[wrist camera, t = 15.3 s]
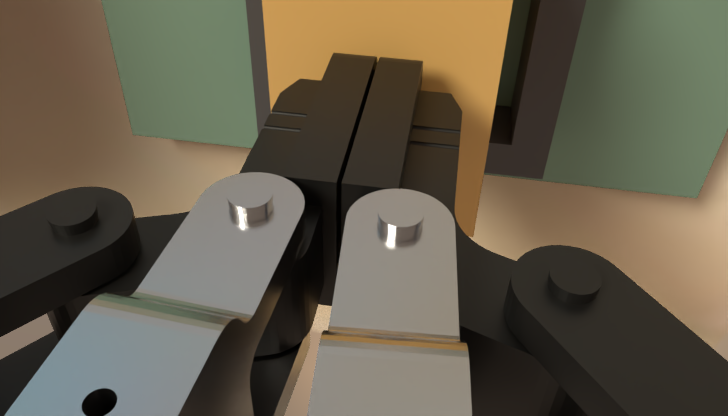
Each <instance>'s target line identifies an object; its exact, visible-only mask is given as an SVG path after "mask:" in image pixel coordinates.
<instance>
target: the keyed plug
mask: <svg viewBox="0 0 728 416" xmlns="http://www.w3.org/2000/svg"><path fill="white" fill-rule="evenodd" d="M512 4H513V0H262V7H263V19H264V32H265V44H266V57H267V70H268V82H269V95H270V107H271V110H272V108H273V106H274V104H275V102H276V100H277V98H278V96H279V94H280V92H282V91H283V90H285V89H286V88H288V87H289V86H290V85H292V84H293V83H295V82H296V81H297V80H299V79H310V80H320V81H321V80H322V78H323V75H324V73H325V71H326V68H327V66H328V64H329V61H330V59H331V57H332V54H333V53H344V54H354V55H365V56H375V57H377V59H378V60H379V58H380V57H387V58H398V59H408V60H418V61H423V74H422V85H421V91H431V92H441V93H451V94H452V96H453V97H454V99H455V101H456V102H457V104H458V105H459V107H460V108H461V110H462V123H461V133H460V134H461V135H460V147H459V160H458V172H457V184H456V197H455V216H456V220H457V222H458V224H459V226H460V228H461V229H462V230H463V232H464V233H465V234H466V235H467V236H470V237H473V235H474V229H475V223H476V217H477V211H478V205H479V199H480V193H481V187H482V181H483V175H484V169H485V164H486V158H487V152H488V146H489V140H490V134H491V128H492V122H493V116H494V110H495V104H496V98H497V93H498V87H499V81H500V75H501V69H502V63H503V57H504V51H505V45H506V39H507V33H508V27H509V21H510V16H511V10H512Z"/></svg>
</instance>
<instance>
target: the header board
mask: <svg viewBox="0 0 728 416" xmlns="http://www.w3.org/2000/svg"><path fill="white" fill-rule="evenodd" d="M101 1H102V5H103V10H104V14H105V18H106V22H107V27H108V31H109V35H110V39H111V44H112V48H113V52H114V56H115V61H116V65H117V69H118V73H119V78H120V82H121V86H122V90H123V95H124V99H125V103H126V107H127V112H128V116H129V120H130V124H131V129H132V133H133V135H139V136H147V137H156V138H165V139H174V140H183V141H192V142H201V143H210V144H219V145H227V146H236V147H245V148H253V146H254V144H255V142H256V140H257V138H258V136H259V134H260V132H261V130H262V129H264V124H265V122H266V120H267V118H268V116H269V114H271V107H270V95H269V82H268V70H267V57H266V44H265V32H264V19H263V7H262V0H101ZM727 129H728V0H513V4H512V10H511V16H510V21H509V27H508V33H507V39H506V45H505V51H504V57H503V63H502V69H501V75H500V81H499V87H498V93H497V98H496V104H495V110H494V116H493V122H492V128H491V134H490V140H489V146H488V152H487V158H486V164H485V169H484V174H485V175H494V176H503V177H512V178H521V179H530V180H538V181H547V182H556V183H565V184H574V185H583V186H592V187H601V188H610V189H618V190H627V191H636V192H645V193H654V194H663V195H672V196H681V197H690V198H697V197H698V195H699V192H700V190H701V188H702V186H703V183H704V181H705V179H706V177H707V174H708V172H709V170H710V168H711V165H712V163H713V161H714V159H715V156H716V154H717V152H718V150H719V147H720V145H721V143H722V140H723V138H724V136H725V134H726V131H727Z"/></svg>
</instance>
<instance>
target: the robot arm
mask: <svg viewBox="0 0 728 416" xmlns="http://www.w3.org/2000/svg"><path fill="white" fill-rule="evenodd" d="M422 74H423V61H418V60H408V59H398V58H387V57H380V58H379V60H378V59H377V57H375V56H365V55H354V54H344V53H333V54H332V57H331V59H330V61H329V64H328V66H327V68H326V71H325V73H324V75H323V78H322V80H321V81H320V80H310V79H299V80H297V81H296V82H295V83H293V84H292V85H290V86H289V87H288V88H286V89H285V90H283V91H282V92H280V94H279V96H278V98H277V100H276V102H275V104H274V106H273V108H272V110H271V114H269V116H268V118H267V120H266V122H265V124H264V129H262V130H261V132H260V134H259V136H258V138H257V140H256V142H255V144H254V146H253V148H252V150H251V152H250V154H249V155H248V157H247V159H246V161H245V163H244V165H243V167H242V169H241V171H240V173H239V174H236V175H232V176H229V177H226V178H224V179H222V180H219V181H217V182H216V183H214V184H213V185H211V186H210V187H209V188H207V189H206V190H205V191H204V193H203V194H202V195H201V196H200V198H199V199H198V201H197V202H196V204H195V205H194V206H193V208H192V209H191V211H189V212H185V213H179V214H171V215H161V216H152V217H142V218H135V216H134V212H133V208H132V206H131V204H130V202H129V201H128V199H127V198H126V197H124V196H123V195H122V194H120V193H118V192H116V191H114V190H110V189H107V188H101V187H79V188H73V189H68V190H65V191H61V192H58V193H55V194H52V195H50V196H48V197H45V198H43V199H40V200H38V201H36V202H33V203H31V204H28V205H26V206H24V207H21V208H19V209H16V210H14V211H12V212H9V213H7V214H4V215H2V216H0V337H1V336H3V335H5V334H7V333H9V332H11V331H13V330H15V329H17V328H19V327H21V326H23V325H24V324H27V323H28V322H30V321H32V320H34V319H36V318H38V317H40V316H42V315H44V314H46V313H47V315H48V317H49V320H50V322H51V324H52V327H53V329H54V331H53V332H52V333H50V334H48V335H46V336H44V337H42V338H40V339H39V340H37V341H35V342H33V343H31V344H29V345H27V346H26V347H24V348H21V349H20V350H18V351H16V352H14V353H12V354H10V355H8V356H6V357H5V358H3V359H1V360H0V416H284V414H285V411H286V409H287V406H288V403H289V400H290V398H291V395H292V393H293V390H294V387H295V385H296V382H297V379H298V377H299V374H300V371H301V369H302V366H303V363H304V361H305V358H306V355H307V353H308V350H309V346H310V329H311V327H312V324H313V321H314V317H315V314H316V310H317V307H318V304H321V305H328V306H332V309H331V315H330V322H329V327H328V331H325V330H324V331H323V332H322V335H321V339H320V343H319V348H318V354H317V360H316V366H315V372H314V378H313V384H312V390H311V396H310V402H309V408H308V414H307V416H728V361H727V360H725V359H724V358H723V357H722V356H721V355H719V354H718V353H717V352H716V351H715V350H714V349H713V348H711V347H710V346H709V345H708V344H707V343H705V342H704V341H703V340H702V339H701V338H700V337H698V336H697V335H696V334H695V333H694V332H692V331H691V330H690V329H689V328H688V327H687V326H685V325H684V324H683V323H682V322H681V321H680V320H678V319H677V318H676V317H675V316H674V315H672V314H671V313H670V312H669V311H668V310H667V309H665V308H664V307H663V306H662V305H661V304H659V303H658V302H657V301H656V300H655V299H654V298H652V297H651V296H650V295H649V294H648V293H647V292H645V291H644V290H643V289H642V288H641V287H639V286H638V285H637V284H636V283H635V282H634V281H632V280H631V279H630V278H629V277H628V276H626V275H625V274H624V273H623V272H622V271H621V270H619V269H618V268H617V267H616V266H615V265H613V264H612V263H610V262H609V261H608V260H606V259H604V258H603V257H601V256H599V255H597V254H595V253H592V252H590V251H587V250H584V249H581V248H576V247H571V246H562V245H550V246H544V247H539V248H536V249H533V250H531V251H529V252H527V253H525V254H524V255H523V256H521V257H520V258H519V259H518V260H517V261H514V260H512V259H509V258H506V257H503V256H501V255H498V254H496V253H493V252H491V251H489V250H487V249H485V248H483V247H481V246H480V245H478V244H477V243H475V242H474V241H473V240H471V239H470V238H469V237H468V236H467V235H466V234H465V233H464V232H463V230H462V229H461V228H460V226H459V224H458V222H457V220H456V216H455V197H456V184H457V172H458V160H459V147H460V135H461V134H460V133H461V123H462V110H461V108H460V107H459V105H458V104H457V102H456V101H455V99H454V97H453V96H452V94H451V93H441V92H431V91H421V85H422Z"/></svg>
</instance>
